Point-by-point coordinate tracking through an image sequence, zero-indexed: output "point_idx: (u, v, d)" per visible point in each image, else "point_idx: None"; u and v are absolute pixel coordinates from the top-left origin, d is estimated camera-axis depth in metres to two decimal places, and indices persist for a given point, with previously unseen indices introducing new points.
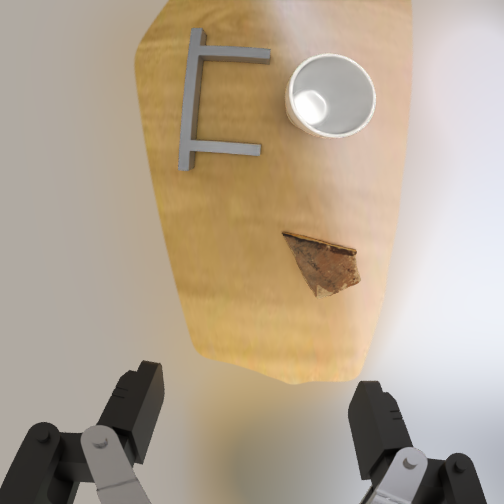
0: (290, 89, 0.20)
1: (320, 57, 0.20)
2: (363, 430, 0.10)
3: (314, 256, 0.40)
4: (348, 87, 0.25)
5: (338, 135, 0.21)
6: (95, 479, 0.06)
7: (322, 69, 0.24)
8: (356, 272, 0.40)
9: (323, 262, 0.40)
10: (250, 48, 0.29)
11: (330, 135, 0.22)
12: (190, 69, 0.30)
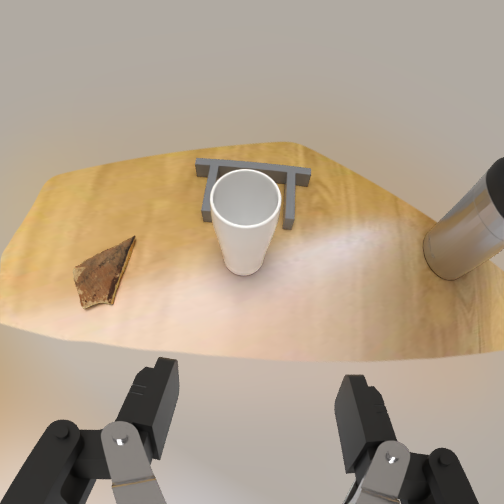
0: (247, 169, 0.30)
1: (276, 189, 0.30)
2: (348, 423, 0.10)
3: (111, 263, 0.41)
4: None
5: (211, 199, 0.29)
6: (111, 473, 0.06)
7: None
8: (91, 303, 0.38)
9: (105, 271, 0.40)
10: (293, 205, 0.43)
11: (211, 193, 0.29)
12: (275, 166, 0.46)
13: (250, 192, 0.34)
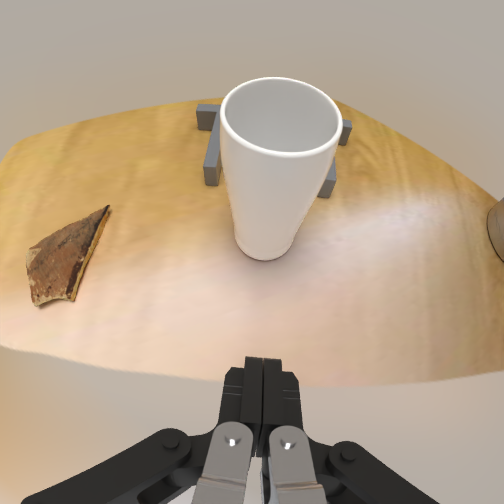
0: (281, 77, 0.17)
1: (331, 106, 0.16)
2: None
3: (74, 242, 0.27)
4: None
5: (223, 112, 0.15)
6: (205, 467, 0.07)
7: None
8: (45, 299, 0.25)
9: (65, 253, 0.27)
10: (333, 163, 0.29)
11: (223, 105, 0.16)
12: None
13: (282, 123, 0.20)
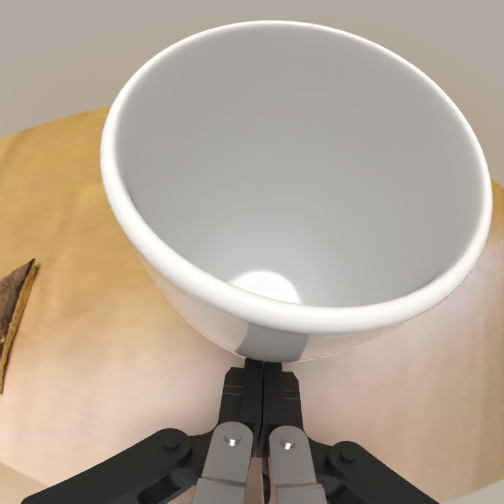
0: None
1: (443, 105, 0.05)
2: None
3: None
4: None
5: (111, 121, 0.04)
6: (205, 467, 0.07)
7: (376, 248, 0.09)
8: None
9: None
10: None
11: (119, 96, 0.04)
12: None
13: (298, 137, 0.09)
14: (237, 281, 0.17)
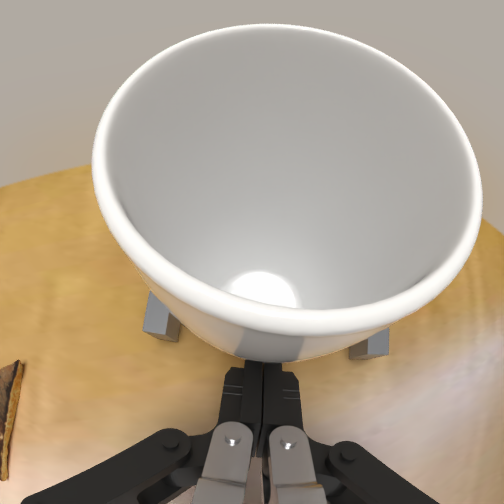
0: (293, 25, 0.06)
1: (433, 104, 0.05)
2: None
3: None
4: None
5: (102, 130, 0.04)
6: (205, 467, 0.07)
7: (370, 248, 0.09)
8: None
9: None
10: None
11: (109, 105, 0.04)
12: None
13: (291, 138, 0.09)
14: (235, 282, 0.17)
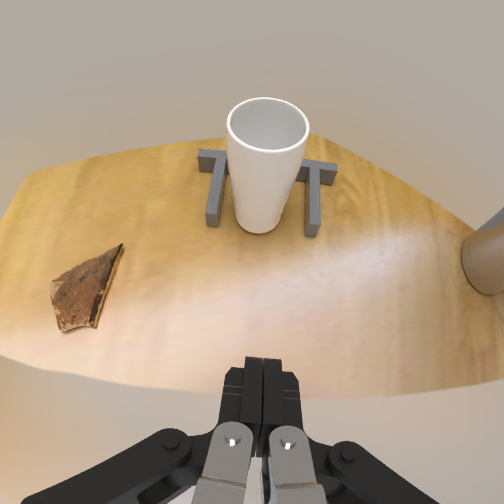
0: None
1: (302, 117, 0.24)
2: None
3: (93, 276, 0.32)
4: None
5: (228, 124, 0.23)
6: (205, 467, 0.07)
7: None
8: (70, 326, 0.30)
9: (86, 287, 0.32)
10: (319, 207, 0.35)
11: (228, 119, 0.24)
12: None
13: (269, 129, 0.28)
14: None
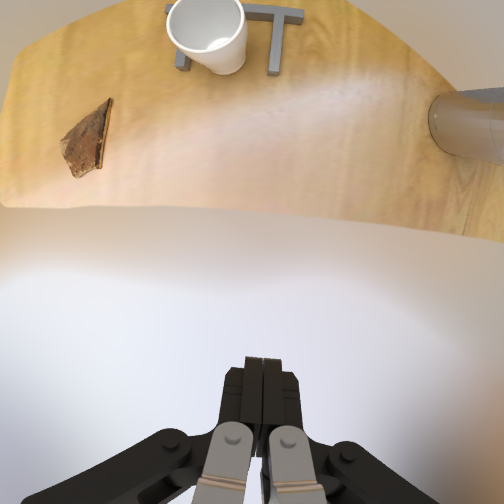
0: None
1: (239, 7, 0.20)
2: None
3: (92, 130, 0.37)
4: None
5: (168, 26, 0.21)
6: (205, 467, 0.07)
7: None
8: (82, 172, 0.39)
9: (88, 139, 0.38)
10: (279, 55, 0.32)
11: (167, 20, 0.21)
12: (260, 7, 0.29)
13: (217, 4, 0.23)
14: (213, 43, 0.32)
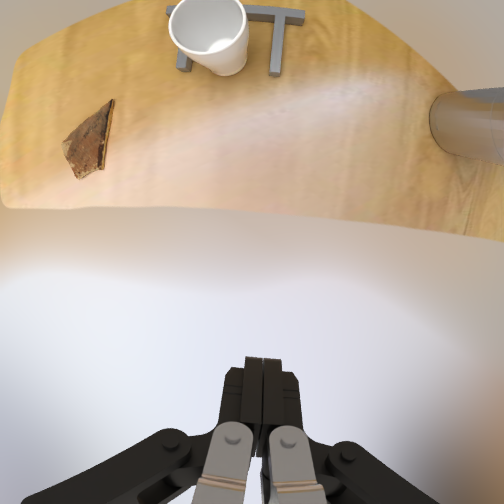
0: None
1: (241, 9, 0.21)
2: None
3: (94, 131, 0.38)
4: None
5: (170, 28, 0.21)
6: (205, 467, 0.07)
7: None
8: (84, 173, 0.40)
9: (90, 140, 0.38)
10: (280, 56, 0.32)
11: (169, 22, 0.21)
12: (261, 8, 0.30)
13: (218, 6, 0.23)
14: (214, 44, 0.33)
